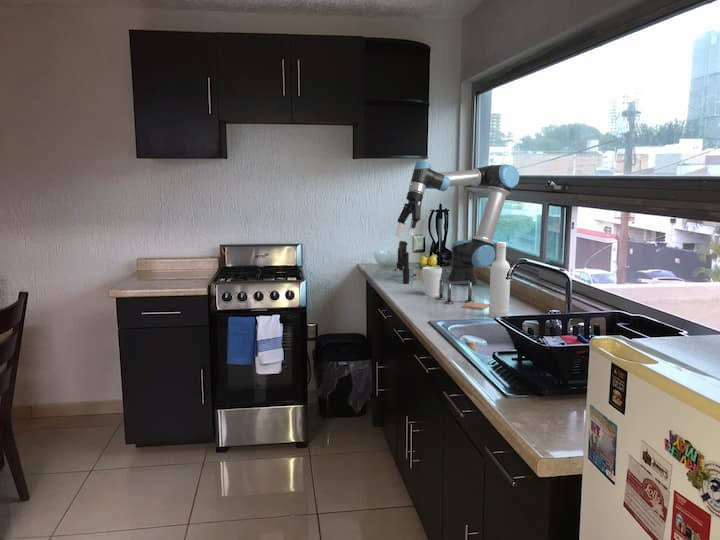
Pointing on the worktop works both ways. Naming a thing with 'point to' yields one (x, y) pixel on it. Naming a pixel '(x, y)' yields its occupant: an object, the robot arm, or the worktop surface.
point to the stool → (403, 266)
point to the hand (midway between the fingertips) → (404, 235)
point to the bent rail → (450, 291)
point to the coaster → (475, 305)
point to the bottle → (499, 283)
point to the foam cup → (431, 280)
